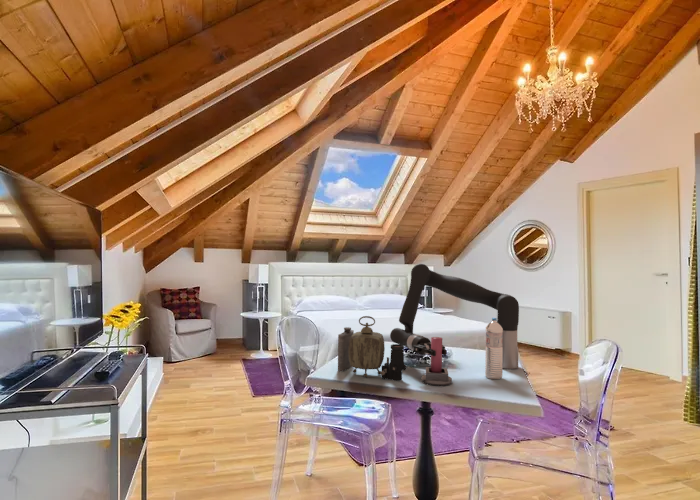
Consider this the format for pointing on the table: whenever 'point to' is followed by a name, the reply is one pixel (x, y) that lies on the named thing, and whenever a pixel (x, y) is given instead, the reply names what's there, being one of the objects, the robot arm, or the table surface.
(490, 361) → the water bottle
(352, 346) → the tabletop clock
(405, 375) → the table surface
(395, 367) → the scope
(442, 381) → the candle holder
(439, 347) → the candle
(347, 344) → the flask
